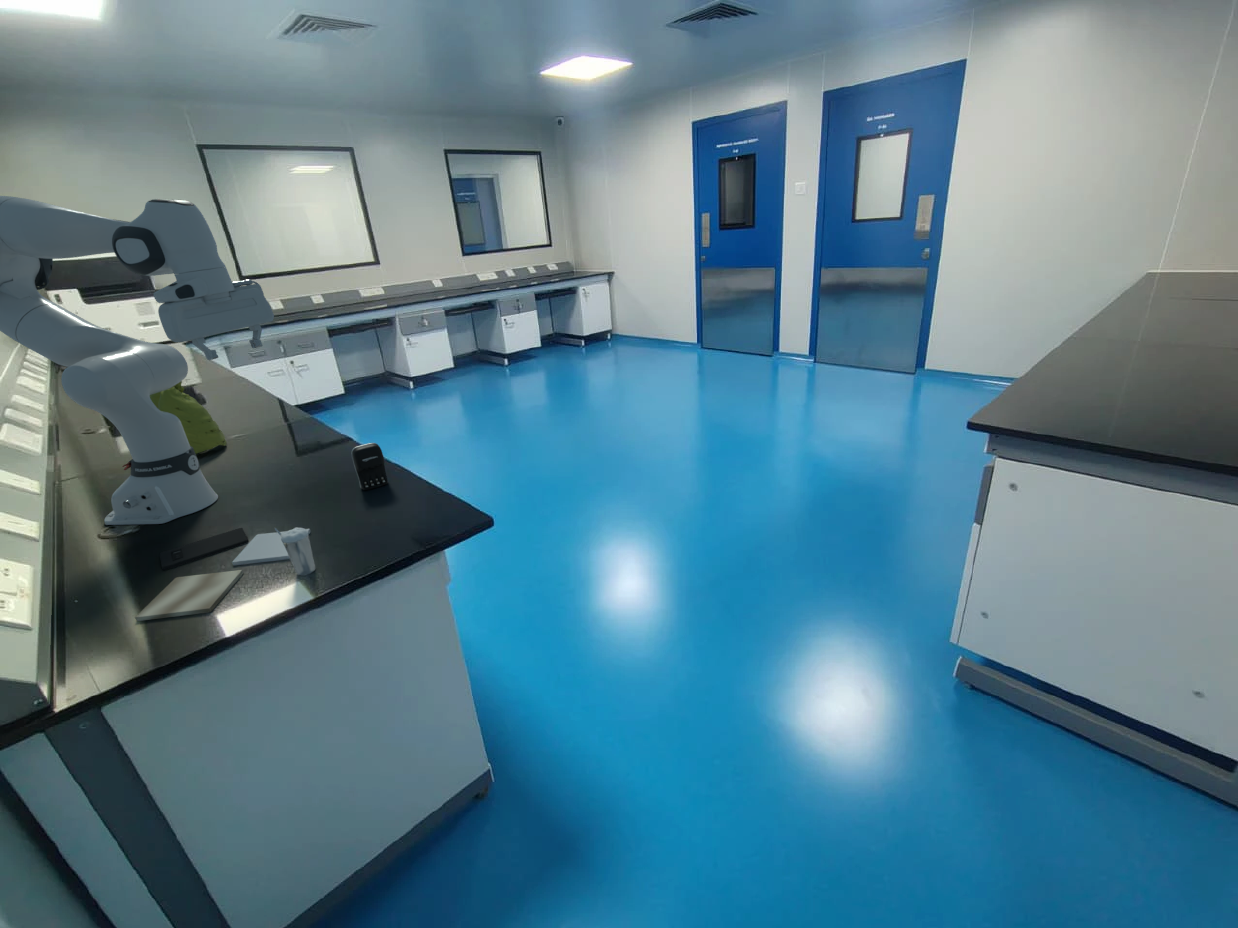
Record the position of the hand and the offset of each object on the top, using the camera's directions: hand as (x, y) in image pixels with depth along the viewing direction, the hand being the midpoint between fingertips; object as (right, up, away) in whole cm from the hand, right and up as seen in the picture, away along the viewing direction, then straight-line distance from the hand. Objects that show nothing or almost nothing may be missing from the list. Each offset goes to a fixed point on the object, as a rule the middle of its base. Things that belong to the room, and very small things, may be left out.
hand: (236, 353), depth 116 cm
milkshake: (+20, -45, -9) cm, 50 cm away
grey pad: (+8, -41, -1) cm, 42 cm away
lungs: (-55, -19, +59) cm, 82 cm away
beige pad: (+3, -48, -15) cm, 50 cm away
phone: (-7, -42, +1) cm, 43 cm away
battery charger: (+18, -30, +26) cm, 43 cm away
